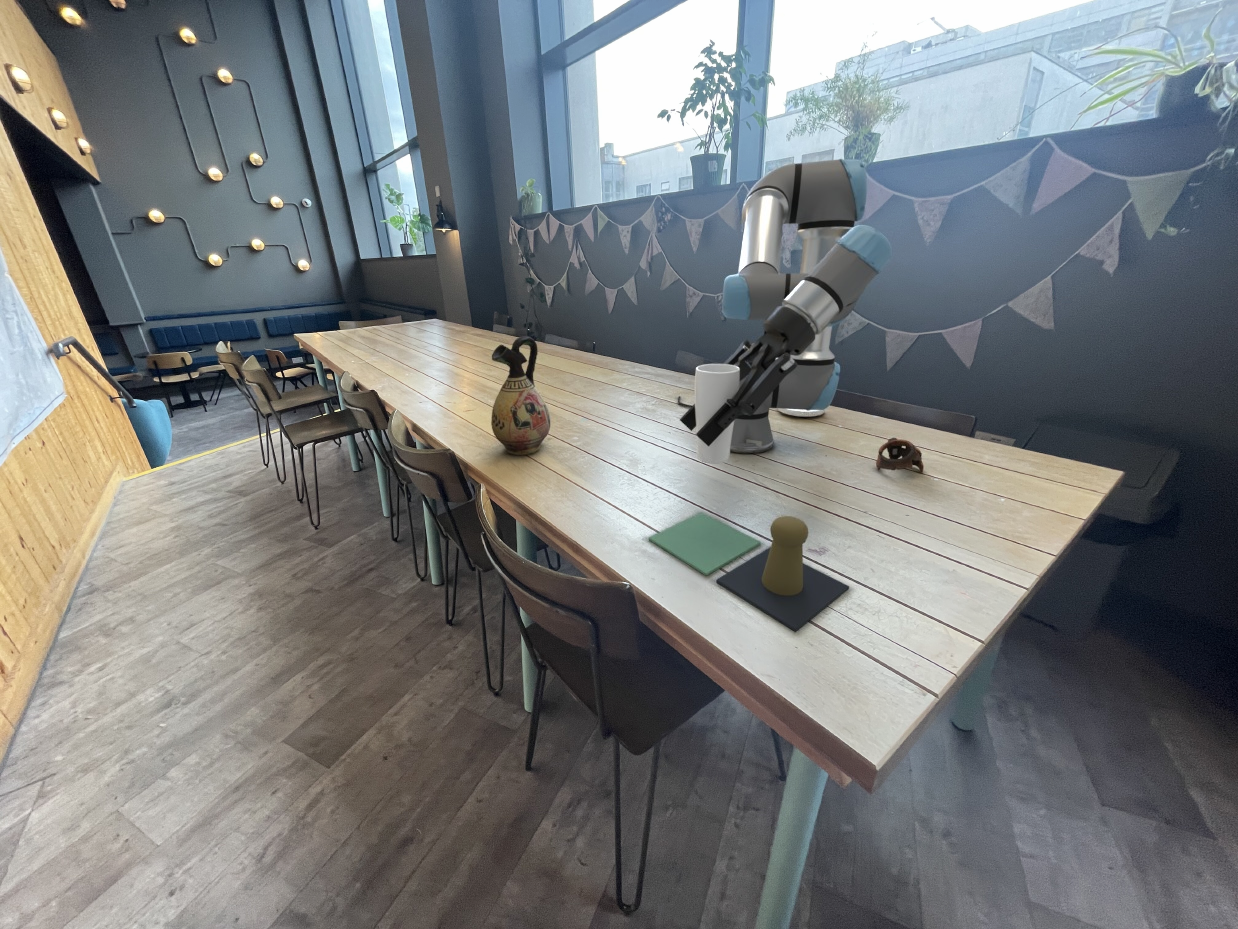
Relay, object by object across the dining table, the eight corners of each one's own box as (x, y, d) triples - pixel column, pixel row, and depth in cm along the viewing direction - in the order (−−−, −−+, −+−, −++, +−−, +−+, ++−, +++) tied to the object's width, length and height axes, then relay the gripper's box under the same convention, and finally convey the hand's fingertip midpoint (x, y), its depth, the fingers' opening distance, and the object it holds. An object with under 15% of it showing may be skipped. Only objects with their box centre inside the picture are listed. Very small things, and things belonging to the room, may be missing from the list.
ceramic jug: (513, 465, 118) (498, 344, 106) (485, 449, 129) (468, 338, 117) (568, 447, 128) (560, 335, 116) (538, 434, 139) (527, 330, 127)
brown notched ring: (933, 480, 105) (928, 454, 100) (888, 494, 108) (881, 469, 104) (910, 448, 114) (904, 422, 110) (869, 461, 117) (862, 438, 113)
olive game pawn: (759, 590, 71) (766, 527, 66) (763, 567, 76) (770, 507, 71) (802, 599, 68) (812, 535, 64) (803, 575, 74) (813, 514, 69)
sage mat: (648, 539, 85) (648, 537, 85) (701, 514, 93) (701, 512, 93) (706, 576, 75) (706, 573, 75) (760, 544, 83) (760, 541, 82)
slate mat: (716, 582, 73) (716, 579, 73) (770, 549, 81) (770, 546, 81) (795, 632, 63) (796, 629, 63) (848, 589, 71) (849, 586, 71)
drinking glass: (725, 470, 73) (731, 374, 67) (685, 462, 76) (688, 370, 70) (739, 455, 78) (746, 365, 72) (701, 448, 82) (705, 362, 76)
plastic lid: (799, 422, 142) (800, 414, 141) (768, 410, 154) (768, 402, 153) (833, 415, 147) (835, 407, 146) (801, 404, 159) (802, 396, 158)
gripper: (853, 347, 64) (734, 470, 67) (778, 329, 82) (687, 427, 85) (824, 309, 61) (701, 439, 64) (753, 298, 78) (659, 401, 82)
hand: (693, 432), depth 75 cm, fingers closed on drinking glass, 7 cm apart
